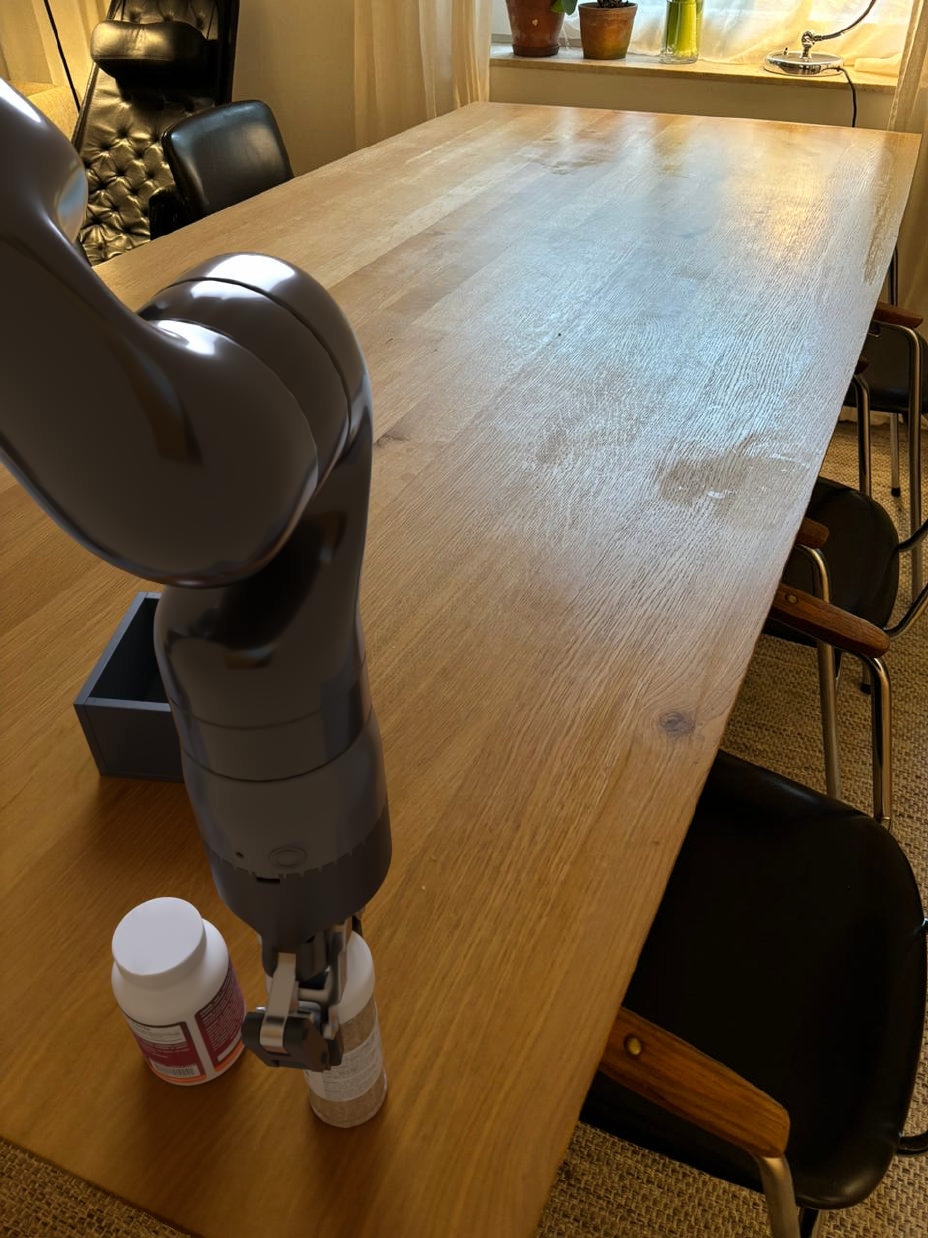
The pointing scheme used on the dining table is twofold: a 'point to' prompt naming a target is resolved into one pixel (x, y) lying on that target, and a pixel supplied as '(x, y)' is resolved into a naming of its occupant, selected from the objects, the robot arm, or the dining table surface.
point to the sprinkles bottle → (352, 1050)
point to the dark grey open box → (131, 703)
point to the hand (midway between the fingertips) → (332, 1007)
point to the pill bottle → (178, 991)
